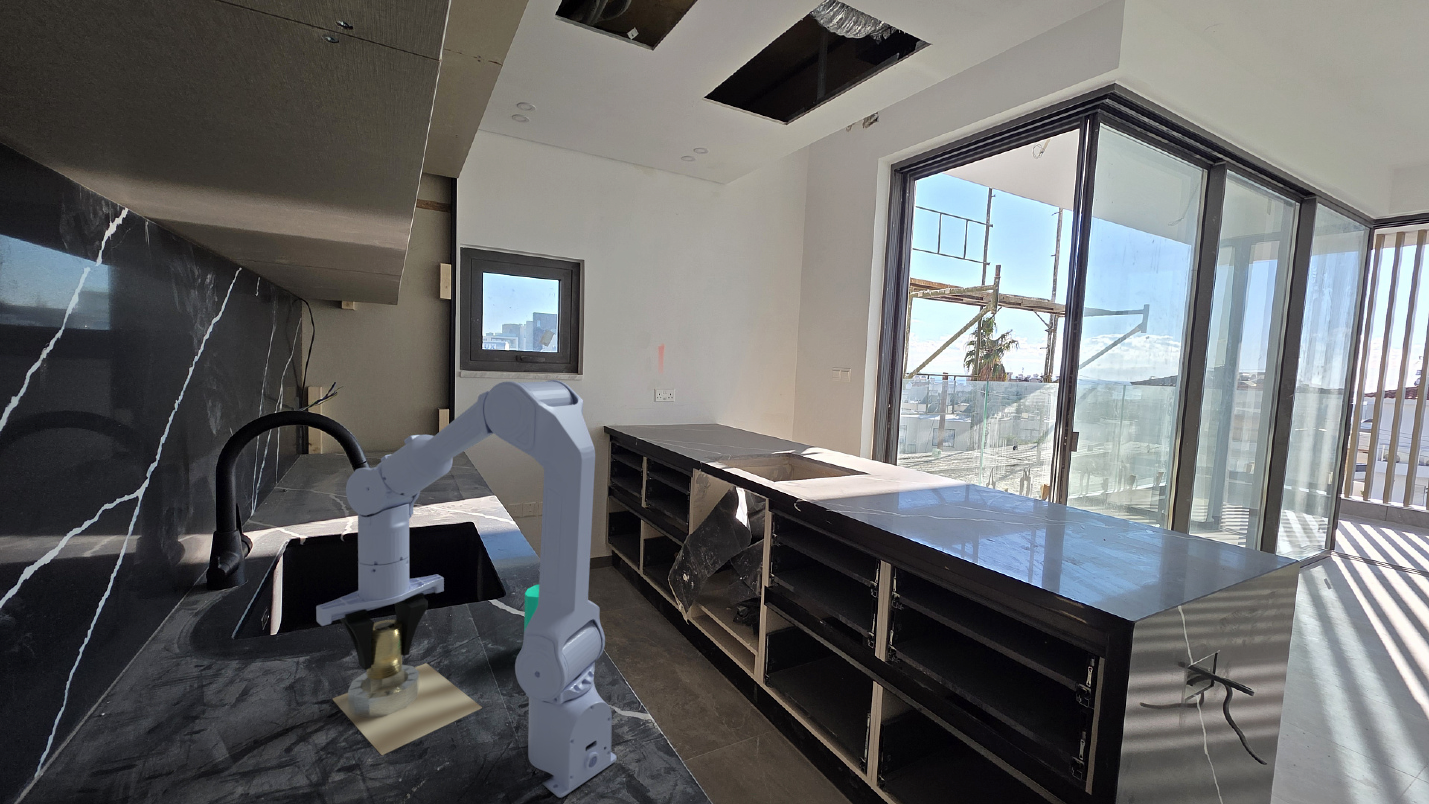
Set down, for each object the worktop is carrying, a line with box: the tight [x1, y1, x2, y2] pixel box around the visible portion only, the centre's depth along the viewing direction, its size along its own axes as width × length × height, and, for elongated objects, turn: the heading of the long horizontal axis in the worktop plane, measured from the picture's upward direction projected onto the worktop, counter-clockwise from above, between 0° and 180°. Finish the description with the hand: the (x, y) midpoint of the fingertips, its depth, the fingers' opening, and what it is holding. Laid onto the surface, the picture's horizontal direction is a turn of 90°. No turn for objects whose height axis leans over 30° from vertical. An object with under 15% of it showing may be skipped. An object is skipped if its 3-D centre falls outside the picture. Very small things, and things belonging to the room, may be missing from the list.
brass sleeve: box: [366, 619, 403, 680], centre depth 74 cm, size 4×4×6 cm
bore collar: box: [347, 664, 419, 718], centre depth 74 cm, size 8×8×2 cm
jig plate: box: [332, 662, 483, 756], centre depth 74 cm, size 16×12×1 cm
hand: (384, 659), depth 74 cm, fingers closed on brass sleeve, 4 cm apart
